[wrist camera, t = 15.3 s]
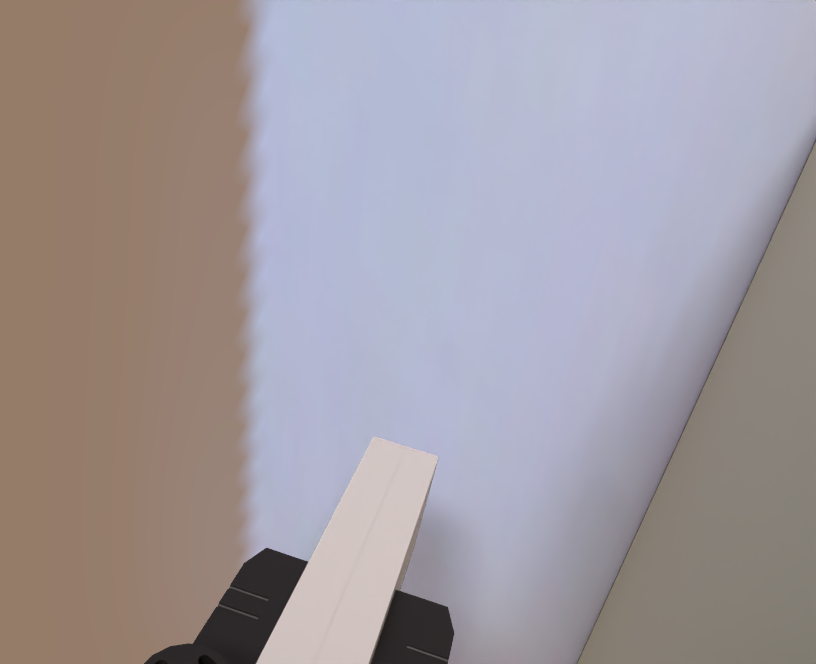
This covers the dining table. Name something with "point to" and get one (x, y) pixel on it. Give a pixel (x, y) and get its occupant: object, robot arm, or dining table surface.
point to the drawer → (736, 489)
